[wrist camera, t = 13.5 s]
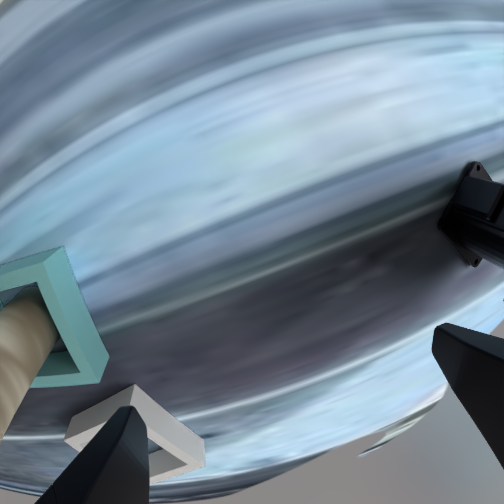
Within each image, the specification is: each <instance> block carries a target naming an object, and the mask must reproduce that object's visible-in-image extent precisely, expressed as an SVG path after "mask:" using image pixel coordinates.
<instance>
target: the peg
mask: <svg viewBox="0 0 504 504" xmlns="http://www.w3.org/2000/svg"><path fill="white" fill-rule="evenodd" d="M60 336H61V335H60V333H59V331H58V329H57V327H56V325H55V323H54V321H53V319H52V317H51V314H50V312H49V310H48V308H47V305H46V303H45V301H44V299H43V296H42V294H41V291H40V289H39V288H38V287H27V288H24V289H23V290H22V291H21V292H19V293H18V294H17V295H16V296H15V297H14V298H13V299H12V300H11V301H10V302H9V303H8V304H7V305H6V306H5V307H4V308H3V309H2V310H1V311H0V442H1V440H2V438H3V436H4V434H5V432H6V430H7V428H8V426H9V424H10V422H11V420H12V418H13V416H14V415H15V413H16V411H17V409H18V407H19V405H20V403H21V402H22V400H23V398H24V396H25V394H26V392H27V391H28V389H29V387H30V385H31V384H32V382H33V380H34V379H35V377H36V375H37V373H38V372H39V370H40V368H41V367H42V365H43V363H44V362H45V360H46V358H47V357H48V355H49V354H50V352H51V350H52V349H53V347H54V346H55V344H56V342H57V341H58V339H59V338H60Z"/></svg>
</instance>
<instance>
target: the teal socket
mask: <svg viewBox="0 0 504 504" xmlns="http://www.w3.org/2000/svg"><path fill="white" fill-rule="evenodd" d="M34 282H37V284H38V287H39V289H40V291H41V294H42V296H43V299H44V301H45V303H46V305H47V308H48V310H49V312H50V314H51V317H52V319H53V321H54V323H55V325H56V327H57V329H58V331H59V333H60V335H61V337H62V339H63V341H64V343H65V345H66V347H67V349H68V351H63V352H55V353H50V354H49V355H48V357H47V358H46V360H45V362H44V363H43V365H42V367H41V368H40V370H39V372H38V373H37V375H36V377H35V379H34V380H33V382H32V384H31V385H30V387H29V388H41V387H59V386H72V385H84V384H95V383H100V380H101V378H102V375H103V372H104V370H105V367H106V364H107V362H108V359H109V357H110V356H109V354H108V352H107V350H106V348H105V346H104V344H103V342H102V340H101V338H100V336H99V334H98V332H97V329H96V327H95V325H94V323H93V320H92V318H91V316H90V314H89V311H88V309H87V307H86V304H85V302H84V299H83V297H82V295H81V292H80V290H79V287H78V284H77V282H76V279H75V277H74V274H73V271H72V269H71V266H70V263H69V260H68V257H67V254H66V252H65V249H64V246H61V247H58V248H54V249H51V250H48V251H44V252H41V253H38V254H35V255H31V256H28V257H25V258H22V259H19V260H15V261H12V262H9V263H6V264H3V265H0V291H4V290H8V289H11V288H15V287H19V286H23V285H26V284H30V283H34ZM3 308H4V306H3V304H2V302H1V300H0V311H1V310H2V309H3Z"/></svg>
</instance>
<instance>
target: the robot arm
mask: <svg viewBox="0 0 504 504" xmlns="http://www.w3.org/2000/svg"><path fill="white" fill-rule="evenodd" d="M476 166H477V169H476ZM444 223H445V226H444V227H443V225H444ZM438 228H439V230H440V231H441V232H442V233H443V234H444V235H445V237H446V238H447V239H448V240H449V241H450V242H451V243H452V244H453V245H454V247H455V248H456V249H457V250H458V251H459V252H460V253H461V255H462V256H463V257H464V258H465V259H466V260H467V262H468V263H469V264H470V265H471V266H473V267H477V266H478V265H479V263H480V262H481V260H482V258H484V259H486V260H487V261H489V262H491V263H493V264H495V265H497V266H499V267H500V268H502V269H504V184H502V183H498V182H494V181H492V179H491V178H490V176H489V175H488V173H487V172H486V170H485V169H484V167H483V166H482V164H481V163H480V162H477V161H474V162H472V164H471V166H470V168H469V169H468V171H467V173H466V175H465V177H464V179H463V181H462V182H461V184H460V186H459V188H458V190H457V191H456V193H455V195H454V197H453V198H452V200H451V202H450V203H449V205H448V207H447V209H446V210H445V212H444V214H443V215H442V217H441V218H440V220H439V222H438ZM503 301H504V300H503ZM432 353H433V356H434V358H435V359H436V361H437V363H438V365H439V366H440V368H441V370H442V372H443V374H444V375H445V377H446V379H447V381H448V383H449V385H450V386H451V388H452V390H453V391H454V393H455V394H456V396H457V397H458V399H459V400H460V402H461V403H462V404H463V406H464V408H465V409H466V411H467V412H468V414H469V415H470V416H471V418H472V420H473V421H474V422H475V424H476V426H477V427H478V429H479V430H480V432H481V433H482V435H483V437H484V438H485V440H486V441H487V443H488V444H489V446H490V447H491V449H492V451H493V452H494V454H495V456H496V457H497V459H498V461H499V462H500V464H501V466H502V467H503V469H504V339H502V338H499V337H495V336H492V335H488V334H485V333H481V332H478V331H474V330H471V329H467V328H464V327H460V326H457V325H453V324H450V323H444V324H441V325H439V326H437V327H436V328H435V330H434V335H433V342H432ZM149 484H150V470H149V455H148V438H147V427H146V424H145V422H144V421H143V419H142V417H141V416H140V414H139V413H138V411H137V409H136V408H135V407H134V406H132V405H130V406H121V407H119V408H118V409H117V411H116V412H115V413H114V414H113V415H112V416H111V417H110V419H109V420H108V421H107V422H106V423H105V424H104V425H103V427H102V428H101V429H100V430H99V431H98V432H97V433H96V435H95V436H94V437H93V438H92V439H91V440H90V441H89V443H88V444H87V445H86V446H85V447H84V448H83V449H82V451H81V452H80V453H79V454H78V455H77V456H76V457H75V459H74V460H73V461H72V462H71V463H70V464H69V465H68V467H67V468H66V469H65V470H64V471H63V472H62V473H61V475H60V476H59V477H58V478H57V479H56V480H55V481H54V483H53V485H51V486H50V487H49V488H48V489H47V490H46V492H45V493H44V494H43V495H42V496H41V497H40V498H39V499H38V500H37V501H36V502H35V504H149Z"/></svg>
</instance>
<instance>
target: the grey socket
mask: <svg viewBox="0 0 504 504" xmlns="http://www.w3.org/2000/svg"><path fill="white" fill-rule="evenodd" d="M130 405H132V406H134V407H135V408H136V409H137V411H138V413H139V414H140V416H141V417H142V419H143V421H144V422H145V424H146V427H147V437H148V438H149V439H151V440H152V441H154V442H155V443H156V444H158V445H159V446H161V447H162V448H164V449H161V450H158V451H156V452H153V453H150V454H148V455H149V470H150V484H152V483H156V482H159V481H162V480H166V479H169V478H172V477H175V476H178V475H181V474H184V473H187V472H190V471H193V470H196V469H199V468H201V467H204V466H205V449H204V440H203V439H202V438H201V437H199V436H198V435H197V434H195V433H194V432H193V431H191V430H190V429H189V428H187V427H186V426H185V425H183V424H182V423H181V422H180V421H178V420H177V419H176V418H175V417H173V416H172V415H171V414H170V413H168V412H167V411H166V410H165V409H164V408H162V407H161V406H160V405H159V404H158V403H156V402H155V401H154V400H153V399H152V398H150V397H149V396H148V395H147V394H146V393H145V392H144V391H142V390H141V389H140V388H139V387H138V386H137V385H136V384H133V385H131V386H130V387H128V388H126V389H124V390H122V391H120V392H119V393H117V394H115V395H113V396H111V397H109V398H107V399H105V400H104V401H102V402H100V403H98V404H96V405H94V406H92V407H90V408H88V409H86V410H84V411H82V412H81V413H79V414H77V415H75V416H73V417H72V419H71V421H70V424H69V427H68V429H67V432H66V435H65V438H64V441H65V442H66V443H68V444H69V445H70V446H72V447H73V448H74V449H76V450H77V451H78V452H81V451H82V449H83V448H84V447H85V446H86V445H87V444H88V443H89V441H90V440H91V439H92V438H93V437H94V436H95V435H96V433H97V432H98V431H99V430H100V429H101V428H102V427H103V425H104V424H105V423H106V422H107V421H108V420H109V419H110V417H111V416H112V415H113V414H114V413H115V412H116V411H117V409H118V408H119V407H121V406H130Z"/></svg>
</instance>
